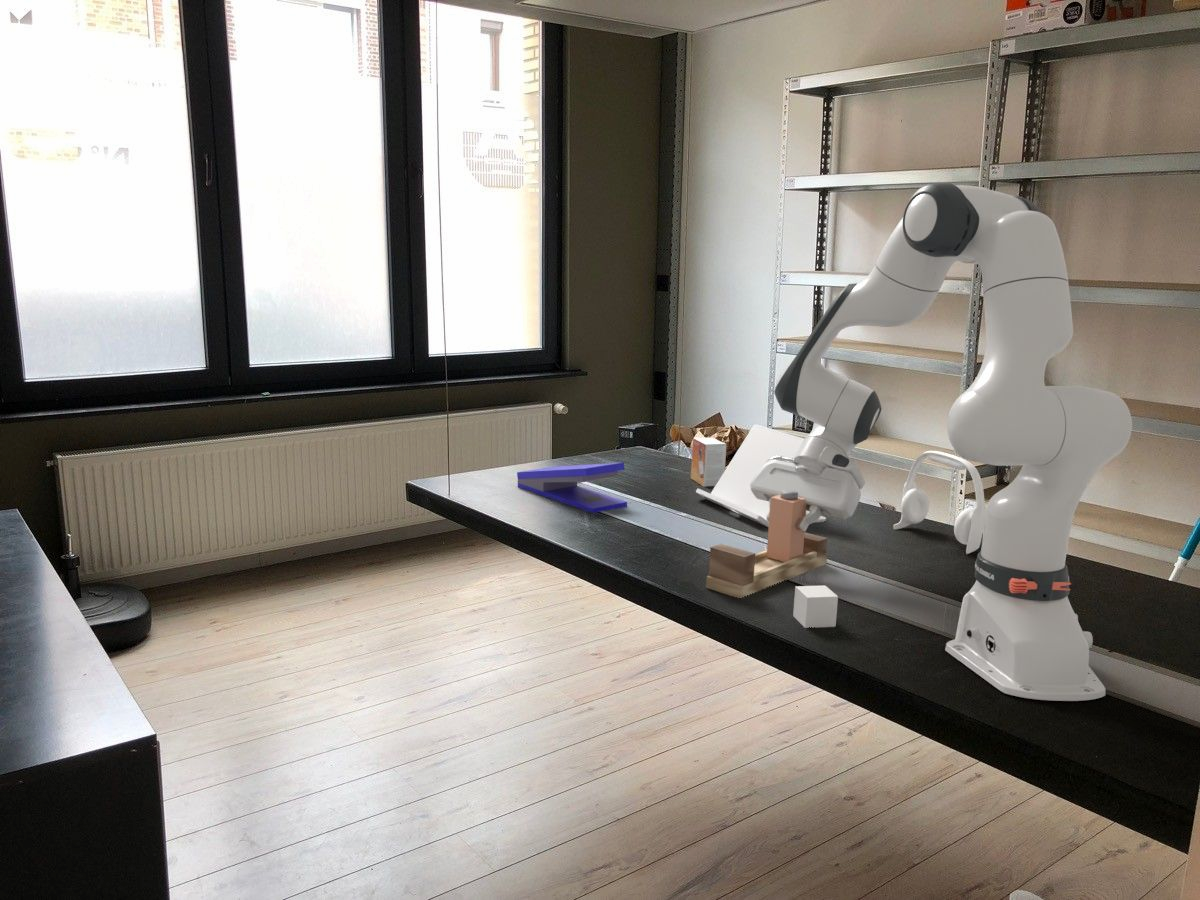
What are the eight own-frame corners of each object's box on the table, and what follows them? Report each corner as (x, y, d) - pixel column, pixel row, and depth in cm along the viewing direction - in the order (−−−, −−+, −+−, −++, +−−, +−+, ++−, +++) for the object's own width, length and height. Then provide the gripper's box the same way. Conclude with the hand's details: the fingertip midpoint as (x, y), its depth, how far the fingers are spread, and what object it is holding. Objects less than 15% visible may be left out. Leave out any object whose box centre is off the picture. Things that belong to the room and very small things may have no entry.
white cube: (822, 615, 154) (825, 585, 153) (835, 627, 149) (838, 596, 148) (792, 616, 153) (795, 586, 152) (804, 628, 148) (807, 597, 147)
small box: (690, 479, 241) (692, 437, 239) (711, 478, 242) (713, 436, 240) (703, 487, 233) (705, 444, 231) (724, 486, 235) (726, 443, 233)
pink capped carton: (780, 551, 177) (785, 487, 175) (802, 557, 174) (807, 492, 172) (766, 556, 174) (771, 491, 172) (788, 563, 171) (793, 497, 169)
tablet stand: (759, 494, 229) (763, 423, 226) (827, 522, 207) (834, 443, 204) (693, 500, 221) (697, 427, 218) (757, 530, 199) (763, 449, 196)
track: (793, 554, 183) (796, 519, 182) (826, 563, 179) (829, 527, 177) (705, 587, 164) (708, 547, 163) (739, 598, 159) (742, 557, 158)
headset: (989, 553, 189) (1000, 463, 185) (961, 556, 186) (972, 465, 182) (916, 525, 206) (925, 443, 203) (890, 528, 203) (898, 444, 200)
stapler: (590, 514, 207) (591, 470, 205) (514, 487, 228) (514, 446, 226) (630, 506, 215) (631, 463, 213) (552, 481, 236) (553, 441, 234)
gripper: (764, 444, 182) (730, 503, 177) (863, 463, 169) (829, 528, 164) (776, 464, 187) (743, 522, 182) (873, 484, 173) (840, 548, 168)
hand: (785, 525), depth 173 cm, fingers closed on pink capped carton, 5 cm apart
